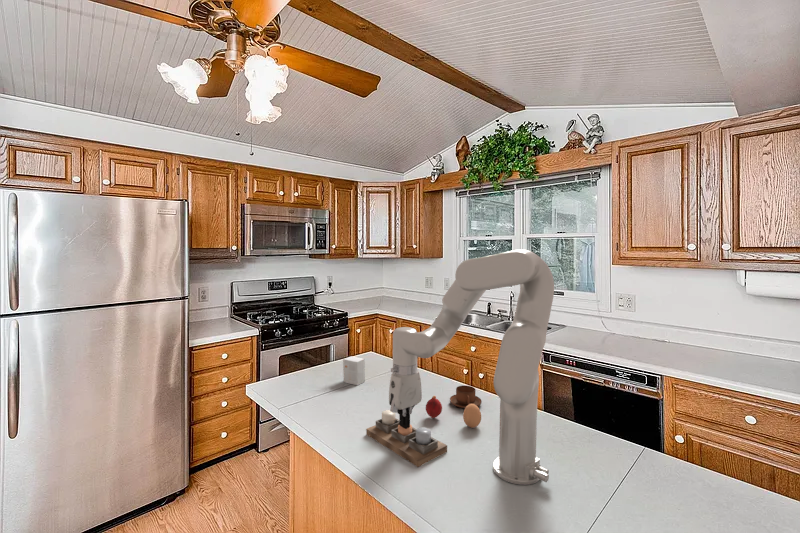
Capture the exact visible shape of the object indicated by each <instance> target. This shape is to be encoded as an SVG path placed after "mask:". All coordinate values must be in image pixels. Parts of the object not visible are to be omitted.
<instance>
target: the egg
mask: <svg viewBox="0 0 800 533" xmlns="http://www.w3.org/2000/svg"><path fill="white" fill-rule="evenodd" d="M462 419H463V421H464V422H463V423H464V424H465V425H466V426H467V427H469V428H472V429H473V428H477V427H478V426H479V425H480V424H481V420H482V412H481V411H480V408H479V406H478V407H477V406H476V405H475V404H469V405H467V406H466V408H464V409H463V414H462Z"/></svg>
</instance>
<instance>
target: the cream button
mask: <svg viewBox="0 0 800 533" xmlns="http://www.w3.org/2000/svg"><path fill="white" fill-rule="evenodd" d="M395 418H396V413H393V412H391V411H390V409H387V410H383V411H381V419H382V423H383V424H384V425H393V424H395Z"/></svg>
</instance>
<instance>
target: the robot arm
mask: <svg viewBox="0 0 800 533" xmlns="http://www.w3.org/2000/svg"><path fill="white" fill-rule="evenodd" d="M518 285H519V286H520V289H519V293H518V298H517V302H516V308H515V313H514V316H513V320H512V323H511V324H510V326H509V327H508V328H507V329H506V330H505V332H504V334H503V337H502V339H501V343H500V348H499V353H498V358H497V362H496V366H495V371H494V376H493V387H494V391H495V394H496V395H497V396H498V398H499V400H500V401H499V404H500V405H499V440H498V441H499V443H498V446H499V447H498V452H499V453H498V457H496V458H495V459H494V460H493V463H492V464H493V465H492V469H493V472H494V473H495V474H496V475H497V476H498V477H499V478H500V479H502V480H503V481H506V482H508V483H510V484H515V485H520V486H527V485H533V484H536V483H538V482H539V481H542V482H545V483H547V482H549V478H550V476H549V471H550V470H549V469H548V468H546V467H543V466H541V464H540V463H541V461H540V458H538V457H537V430H538V429H537V428H538V427H537V420H538V398H539V385H540V384H539V383H540V373H539V366H540V361H541V357H542V354H543V350H544V348H545V345H546V342H547V331H548V327H549V322H550V317H551V312H552V311H551V310H552V306H553V301H554V296H555V293H554V292H555V280H554V276H553V273H552V271H551V269H550V267H549V265H548V264H547V263H546V262H545V260H544V259H543V258H542V257H540V256H539V255H538V254H536V253H535V252H533V251H532V250H527V249H514V250H509V251H504V252H499V253H495V254H491V255H486V256H481V257H475V258H467V259H465V260H463V261H462V262H461V263H460V264H459V265H458V266H457V267H456V269H455V280H454V281H453V282H452V284H451V285H450V287H449V288H448V289H447V291H446V293H445V294H444V295H443V297H442V301H441V303H442V307H441V310H440V312H439V314H437V317H436V318H435V319H434V321H433V322H432V323H431V325H430V326H429V327H428V328H426V329H424V330H423V331H417V329H416V328H414V327H411V326H410V327H409V326H408V327H407V326H401V327H397V328H394V329H393V332H392V367H391V368H390V373H391V375H390V380H389V381H390V382H389V390H388V403H389V406H390V409H389V410H390V411H391V412H393V413H395V414H396V413H397V414H398V415H399V416H398V420H399V425H400V426H401V427H403V428H405V429H407V428H409V427H410V425H411V415H412V413H413V409H414V407H415V406H417V405H418V404H420V403H421V402H422V400H423V399H422V396H423V394H422V391H423V390H422V379H421V374H420V371H419V370H418V358H420V359H429V358H431V357H432V358H433V356H434V355H436V354H437V353H439V352H440V351H441V350H443V349H444V348H445V347H446V346H447V345H448V344H449V342H450V341H451V340H452V338H453V337H454V336H455V335H456V333H457V332H458V330H459V329H460V328H461V326H462V324H463V323H464V321H465V320H466V319H467V316H468V315H469V314H470V312H471V311H472V310H473V308H475V307H474V306H475V305H476V304H477V302H478V301H479V300H480V298H482V296H483V294H484V293H485V292H486V291H490V290H495V289H500V288H501V289H502V288H507V287H513V286H514V287H515V286H518Z"/></svg>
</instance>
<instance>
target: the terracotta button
mask: <svg viewBox="0 0 800 533" xmlns="http://www.w3.org/2000/svg"><path fill="white" fill-rule="evenodd" d="M412 427H413V426H412V424H410V427H409V428H407V429H405V428H403V427H401V426H400V425H398V433H400V434H402V435H403V436H406V435H408V434H410V433H412Z"/></svg>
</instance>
